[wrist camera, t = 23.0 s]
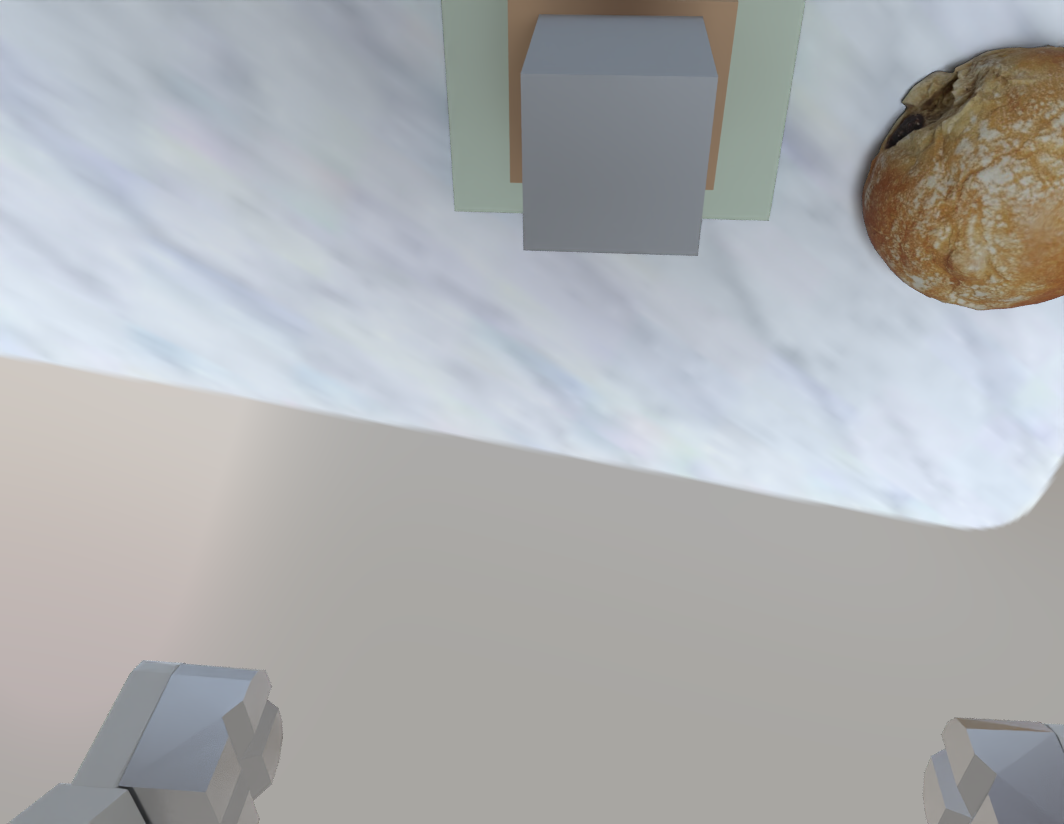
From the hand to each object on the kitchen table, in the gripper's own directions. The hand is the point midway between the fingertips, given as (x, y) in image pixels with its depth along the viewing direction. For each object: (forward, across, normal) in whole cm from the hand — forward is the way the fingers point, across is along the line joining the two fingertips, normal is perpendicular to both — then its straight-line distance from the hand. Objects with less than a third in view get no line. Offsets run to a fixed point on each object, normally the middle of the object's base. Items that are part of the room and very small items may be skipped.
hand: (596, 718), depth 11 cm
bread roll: (+30, -15, +4) cm, 34 cm away
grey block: (+23, 0, 0) cm, 23 cm away
